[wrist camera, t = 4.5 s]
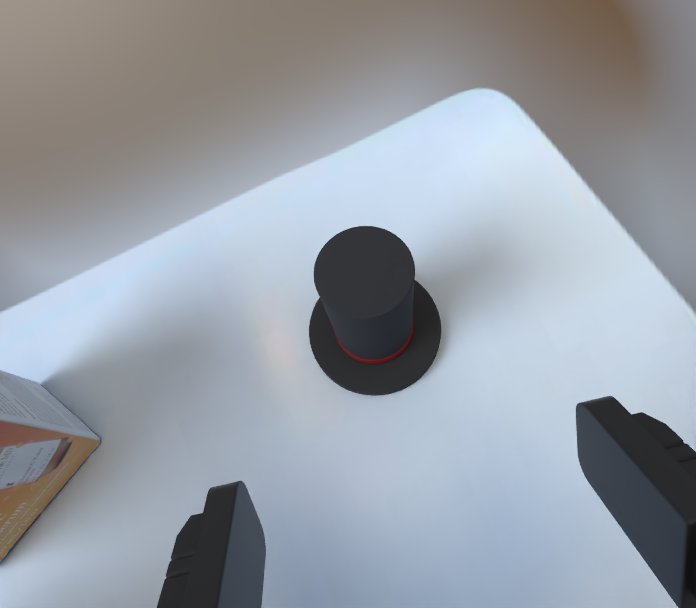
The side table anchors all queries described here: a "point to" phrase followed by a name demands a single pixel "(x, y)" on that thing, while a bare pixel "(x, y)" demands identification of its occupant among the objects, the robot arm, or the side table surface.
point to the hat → (371, 313)
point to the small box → (34, 453)
